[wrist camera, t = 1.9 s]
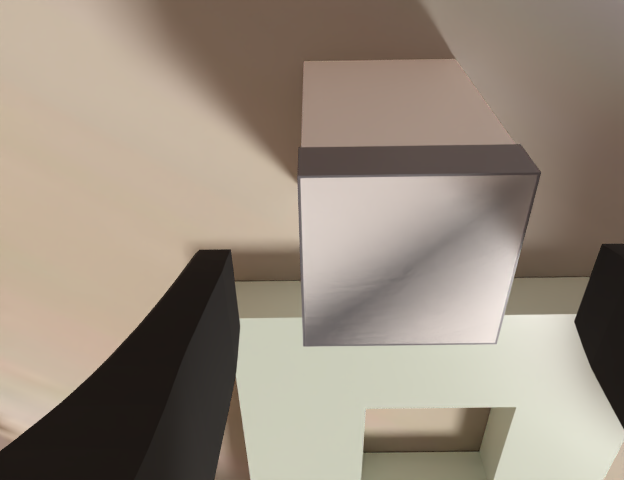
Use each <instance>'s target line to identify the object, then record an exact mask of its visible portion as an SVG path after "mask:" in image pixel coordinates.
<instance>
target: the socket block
mask: <svg viewBox="0 0 624 480" xmlns="http://www.w3.org/2000/svg"><path fill="white" fill-rule="evenodd" d="M589 279H590V277H555V278H514V279H513V283H512V287H511V291H510V295H509V299H508V303H507V306H506V310H505V314H504V318H503V322H502V326H501V330H500V334H499V337H498V341H497V344H480V345H397V346H315V347H303V328H302V298H301V281H243V282H235V288H236V296H237V304H238V312H239V320H240V336H239V349H238V360H237V371H236V381H237V388H238V395H239V402H240V409H241V416H242V424H243V431H244V438H245V445H246V452H247V459H248V466H249V473H250V480H604V478H605V476H606V474H607V472H608V470H609V468H610V467H611V465H612V463H613V461H614V459H615V457H616V455H617V453H618V451H619V449H620V447H621V445H622V444H623V442H624V429H623V427H622V425H621V423H620V422H619V420H618V418H617V416H616V414H615V412H614V411H613V409H612V407H611V405H610V403H609V401H608V399H607V398H606V396H605V394H604V392H603V390H602V388H601V386H600V384H599V382H598V381H597V379H596V377H595V375H594V373H593V371H592V369H591V367H590V364H589V362H588V359H587V357H586V354H585V351H584V349H583V346H582V343H581V340H580V337H579V335H578V332H577V329H576V326H575V323H574V320H575V317H576V315H577V312H578V309H579V306H580V304H581V301H582V298H583V295H584V293H585V290H586V287H587V284H588V282H589ZM482 407H491V410H490V414H489V418H488V421H487V425H486V429H485V432H484V436H483V440H482V443H481V447H480V450H479V452H391V453H363V443H364V429H365V414H366V409H396V408H482Z"/></svg>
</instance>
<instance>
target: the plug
mask: <svg viewBox="0 0 624 480" xmlns="http://www.w3.org/2000/svg"><path fill="white" fill-rule="evenodd" d="M540 174H541V172H540V170H539V169H538V168H537V166H536V165H535V163H534V162H533V161H532V159H531V158H530V157H529V155H528V154H527V152H526V151H525V150H524V148H523V147H522V146H521V144H515V142H514V141H513V139H512V138H511V137H510V135H509V134H508V132H507V131H506V129H505V128H504V127H503V125H502V124H501V122H500V121H499V120H498V118H497V117H496V115H495V114H494V113H493V111H492V110H491V108H490V107H489V105H488V104H487V103H486V101H485V100H484V98H483V97H482V96H481V94H480V93H479V91H478V90H477V89H476V87H475V86H474V84H473V83H472V81H471V80H470V79H469V77H468V76H467V74H466V73H465V72H464V70H463V69H462V67H461V66H460V65H459V63H458V62H457V60H456V59H411V60H344V61H304V68H303V102H302V136H301V147H299V149H298V175H297V177H298V207H299V237H300V267H301V298H302V328H303V347H315V346H397V345H480V344H497V341H498V337H499V334H500V330H501V326H502V322H503V318H504V314H505V310H506V306H507V303H508V299H509V295H510V291H511V287H512V283H513V279H514V275H515V271H516V268H517V264H518V260H519V256H520V252H521V248H522V244H523V240H524V237H525V233H526V229H527V225H528V221H529V217H530V213H531V209H532V205H533V202H534V198H535V194H536V190H537V186H538V182H539V178H540Z"/></svg>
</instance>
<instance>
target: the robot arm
mask: <svg viewBox="0 0 624 480" xmlns="http://www.w3.org/2000/svg"><path fill="white" fill-rule="evenodd" d="M574 323H575V326H576V329H577V332H578V335H579V337H580V340H581V343H582V346H583V349H584V351H585V354H586V357H587V359H588V362H589V364H590V367H591V369H592V371H593V373H594V375H595V377H596V379H597V381H598V382H599V384H600V386H601V388H602V390H603V392H604V394H605V396H606V398H607V399H608V401H609V403H610V405H611V407H612V409H613V411H614V412H615V414H616V416H617V418H618V420H619V422H620V423H621V425H622V427H623V429H624V244H602V246H601V248H600V251H599V254H598V257H597V259H596V262H595V265H594V268H593V270H592V273H591V276H590V279H589V282H588V284H587V287H586V290H585V293H584V295H583V298H582V301H581V304H580V306H579V309H578V312H577V315H576V317H575V320H574ZM239 336H240V320H239V312H238V304H237V296H236V288H235V280H234V272H233V263H232V255H231V249H230V250H199V251H198V252H197V253H196V254H195V255H194V256H193V258H192V259H191V260H190V262H189V263H188V264H187V266H186V267H185V268H184V270H183V271H182V272H181V274H180V275H179V276H178V278H177V279H176V280H175V282H174V283H173V284H172V286H171V287H170V288H169V289H168V291H167V292H166V293H165V294H164V296H163V297H162V298H161V299H160V301H159V302H158V303H157V304H156V305H155V307H154V308H153V309H152V310H151V311H150V313H149V314H148V315H147V316H146V317H145V319H144V320H143V321H142V322H141V323H140V324H139V326H138V327H137V328H136V329H135V330H134V331H133V332H132V333H131V334H130V335H129V336H128V338H127V339H126V340H125V341H124V342H123V343H122V344H121V345H120V346H119V347H118V348H117V349H116V350H115V352H114V353H113V354H112V355H111V356H110V357H109V358H108V359H107V360H106V361H105V362H104V363H103V364H102V365H101V366H100V367H99V368H98V369H97V370H96V371H95V372H94V373H93V374H92V375H91V376H90V377H89V378H88V379H87V380H85V381H84V382H83V383H82V384H81V385H80V386H79V387H78V388H77V389H76V390H75V391H73V392H72V393H71V394H70V395H69V396H68V397H67V398H66V399H65V400H63V401H62V402H61V403H60V404H59V405H58V406H56V407H55V408H54V409H53V410H52V411H50V412H49V413H48V414H47V415H46V416H44V417H43V418H42V419H40V420H39V421H38V422H37V423H35V424H34V425H33V426H32V427H30V428H29V429H28V430H27V431H25V432H24V433H23V434H22V435H20V436H19V437H18V438H17V439H15V440H14V441H13V442H12V443H10V444H9V445H8V446H6V447H5V448H4V449H2V450H1V451H0V480H214V478H215V473H216V468H217V464H218V459H219V454H220V449H221V444H222V440H223V435H224V430H225V425H226V421H227V416H228V411H229V406H230V401H231V396H232V391H233V386H234V381H235V376H236V371H237V360H238V349H239Z"/></svg>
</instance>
